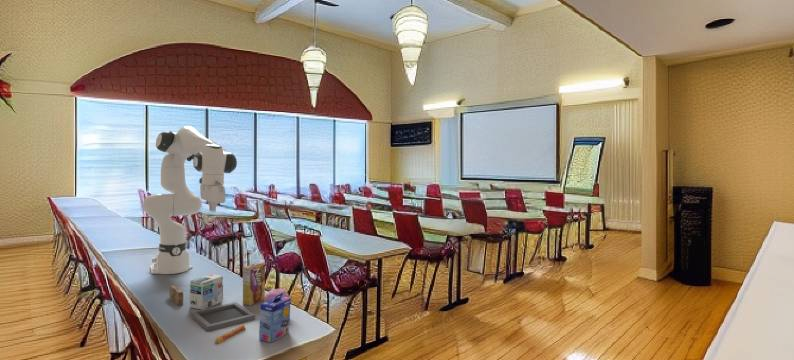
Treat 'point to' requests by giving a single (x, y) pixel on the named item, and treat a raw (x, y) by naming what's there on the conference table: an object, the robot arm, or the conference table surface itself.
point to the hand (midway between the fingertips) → (212, 211)
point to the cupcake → (275, 294)
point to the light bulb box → (206, 291)
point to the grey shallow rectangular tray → (222, 316)
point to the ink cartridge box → (274, 318)
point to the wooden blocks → (178, 295)
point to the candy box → (253, 283)
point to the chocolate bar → (230, 334)
